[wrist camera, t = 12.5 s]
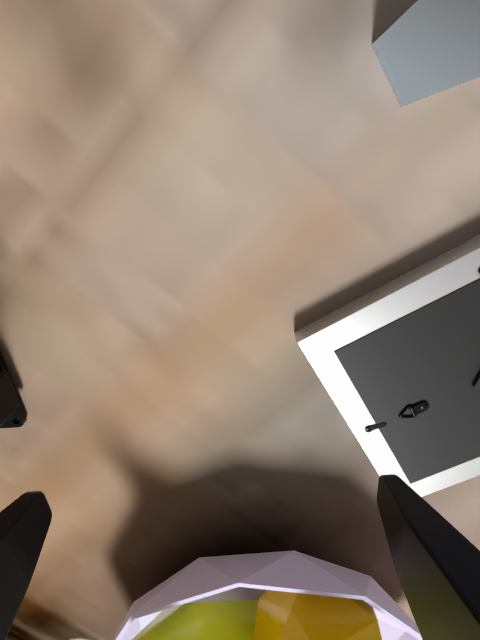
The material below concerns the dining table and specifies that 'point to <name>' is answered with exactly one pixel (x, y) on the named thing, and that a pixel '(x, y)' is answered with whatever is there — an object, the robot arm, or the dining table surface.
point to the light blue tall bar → (431, 48)
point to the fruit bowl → (267, 603)
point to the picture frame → (409, 370)
